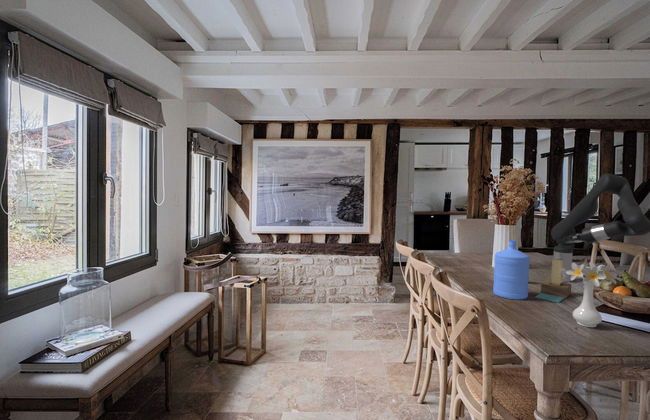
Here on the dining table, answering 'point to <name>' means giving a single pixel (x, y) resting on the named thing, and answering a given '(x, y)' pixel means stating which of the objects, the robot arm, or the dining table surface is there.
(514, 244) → the water jug
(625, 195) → the robot arm
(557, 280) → the tan wooden peg
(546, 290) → the socket block
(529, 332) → the dining table surface
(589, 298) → the flower vase
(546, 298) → the teal mat
